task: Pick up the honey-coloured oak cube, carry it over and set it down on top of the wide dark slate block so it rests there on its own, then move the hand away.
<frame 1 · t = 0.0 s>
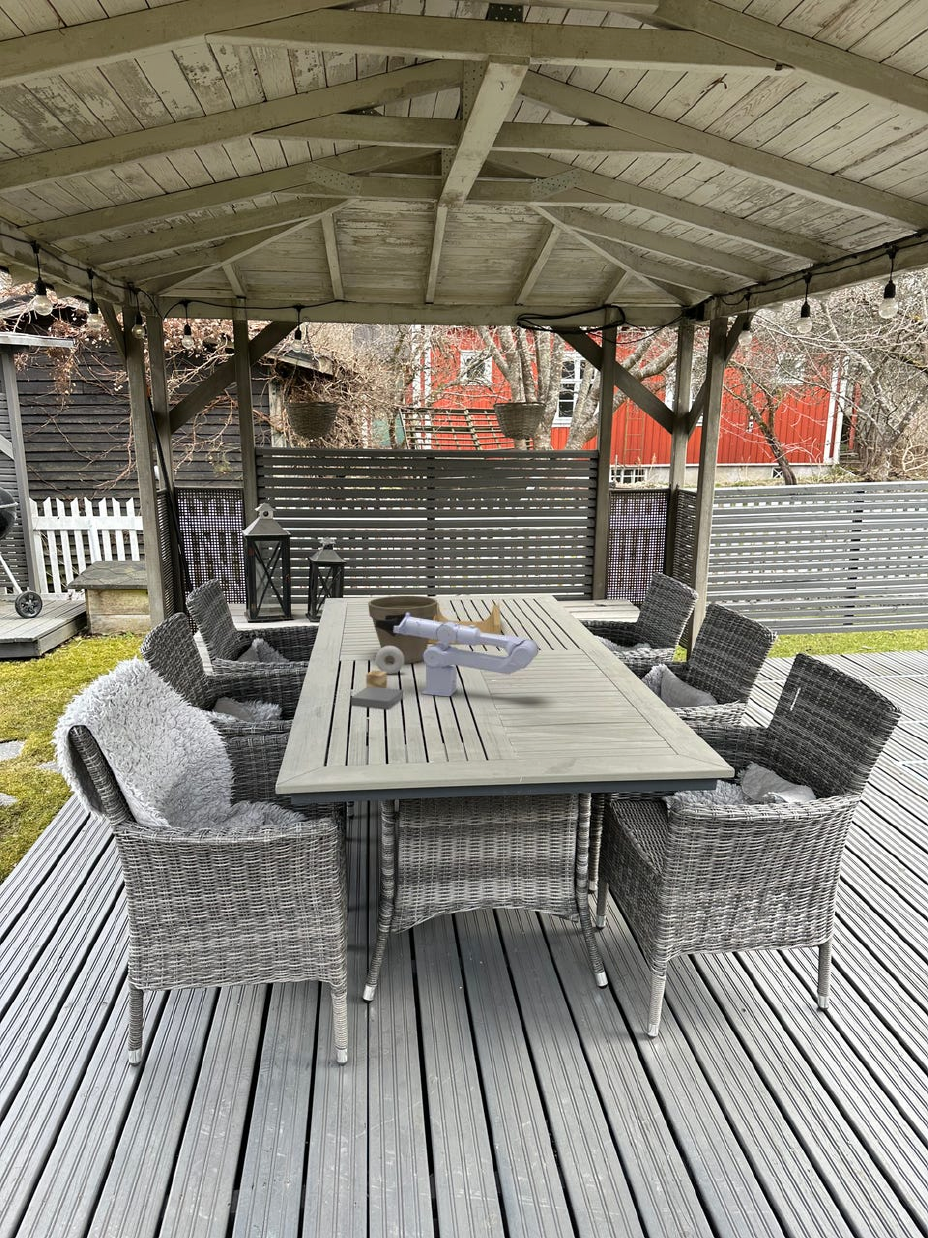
hand: (381, 620, 253), 22 cm above the table, tool horizontal, fingers open, 7 cm apart
donut: (390, 674, 271), on the table
oak cube: (376, 688, 256), on the table
slate block: (377, 703, 242), on the table
plant pot: (403, 659, 291), on the table
skate ramp: (457, 634, 332), on the table
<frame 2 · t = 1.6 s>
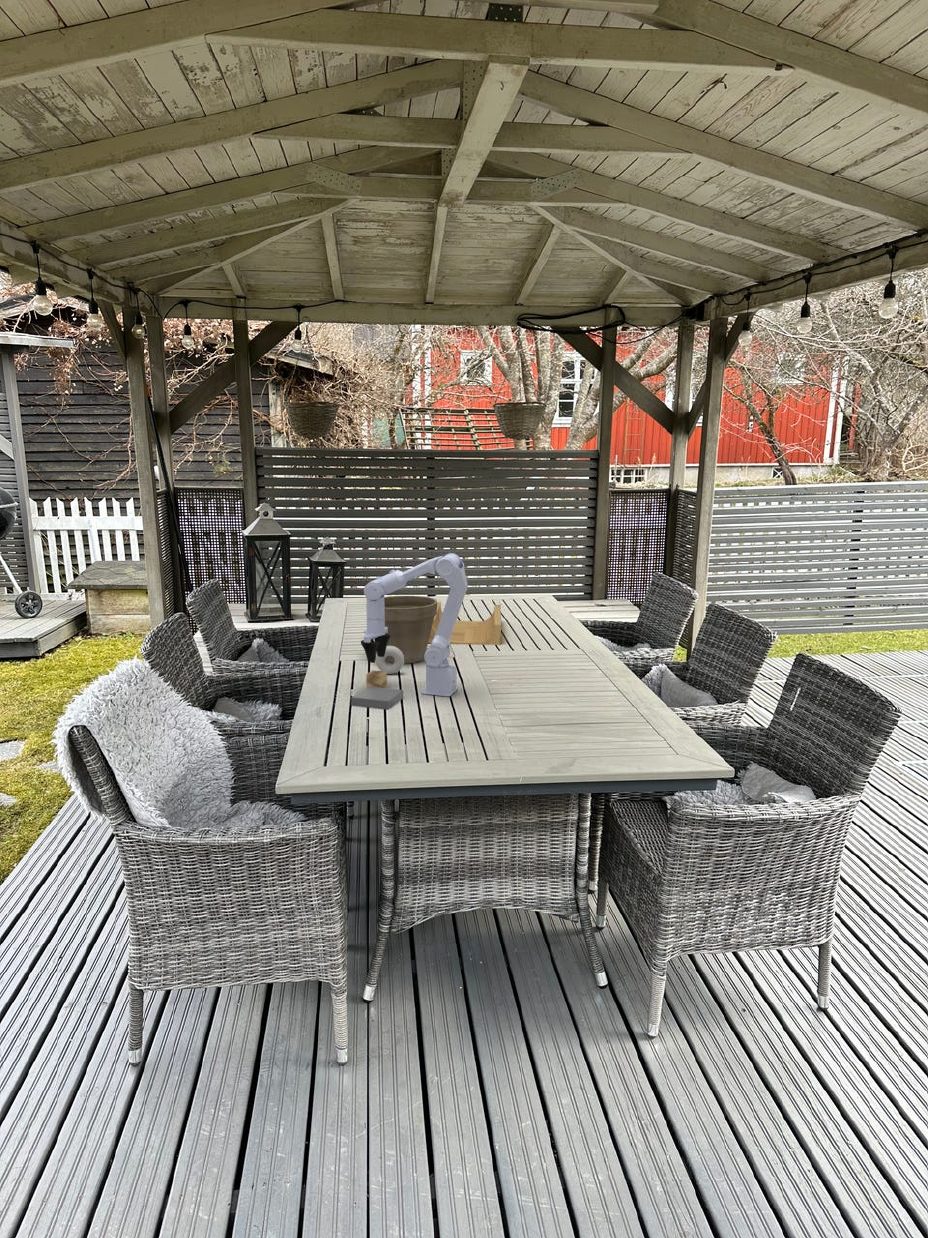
hand: (376, 659, 254), 9 cm above the table, tool pointing down, fingers open, 7 cm apart
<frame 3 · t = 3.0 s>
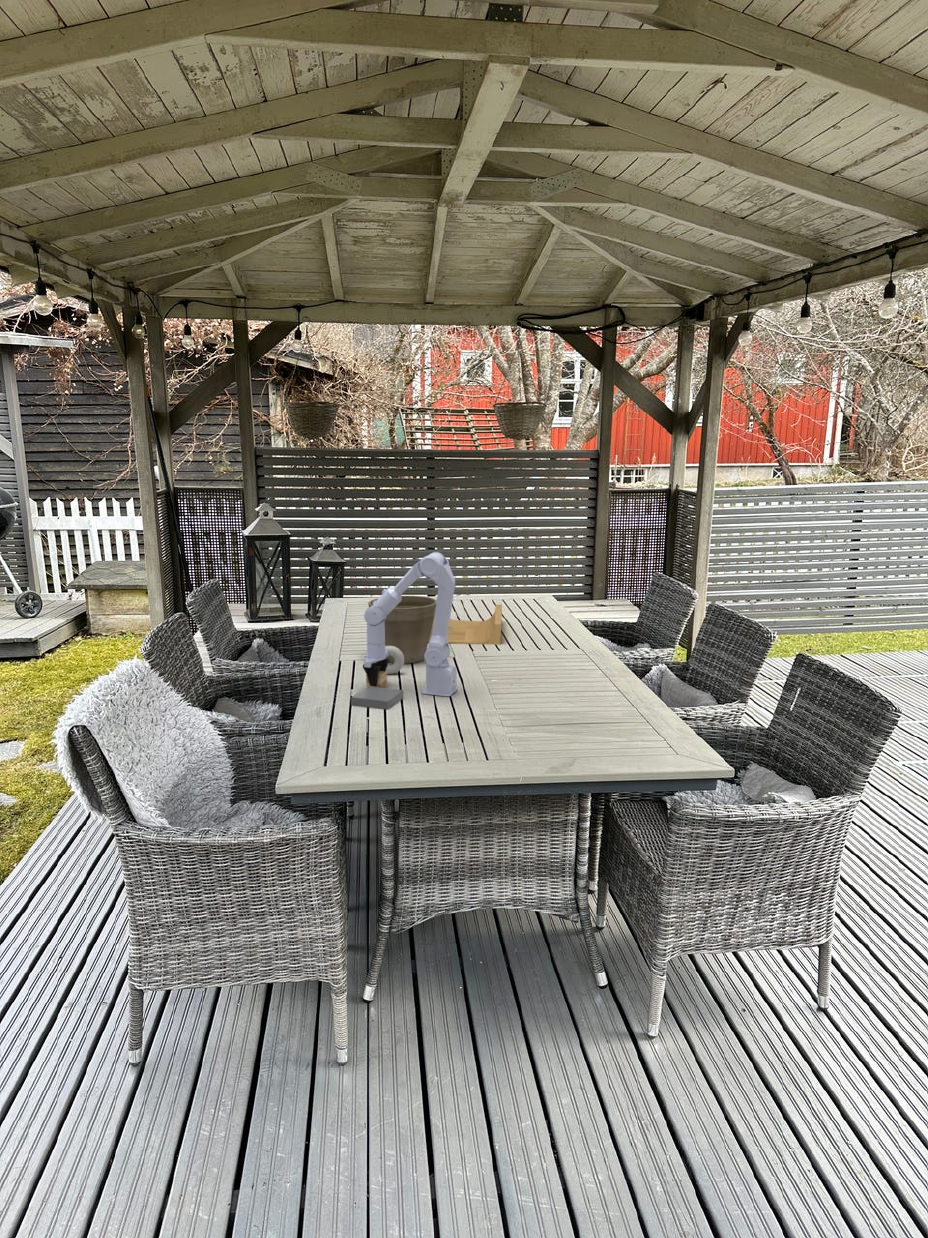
hand: (376, 683, 256), 1 cm above the table, tool pointing down, fingers closed on oak cube, 5 cm apart
oak cube: (376, 687, 256), on the table, touching gripper
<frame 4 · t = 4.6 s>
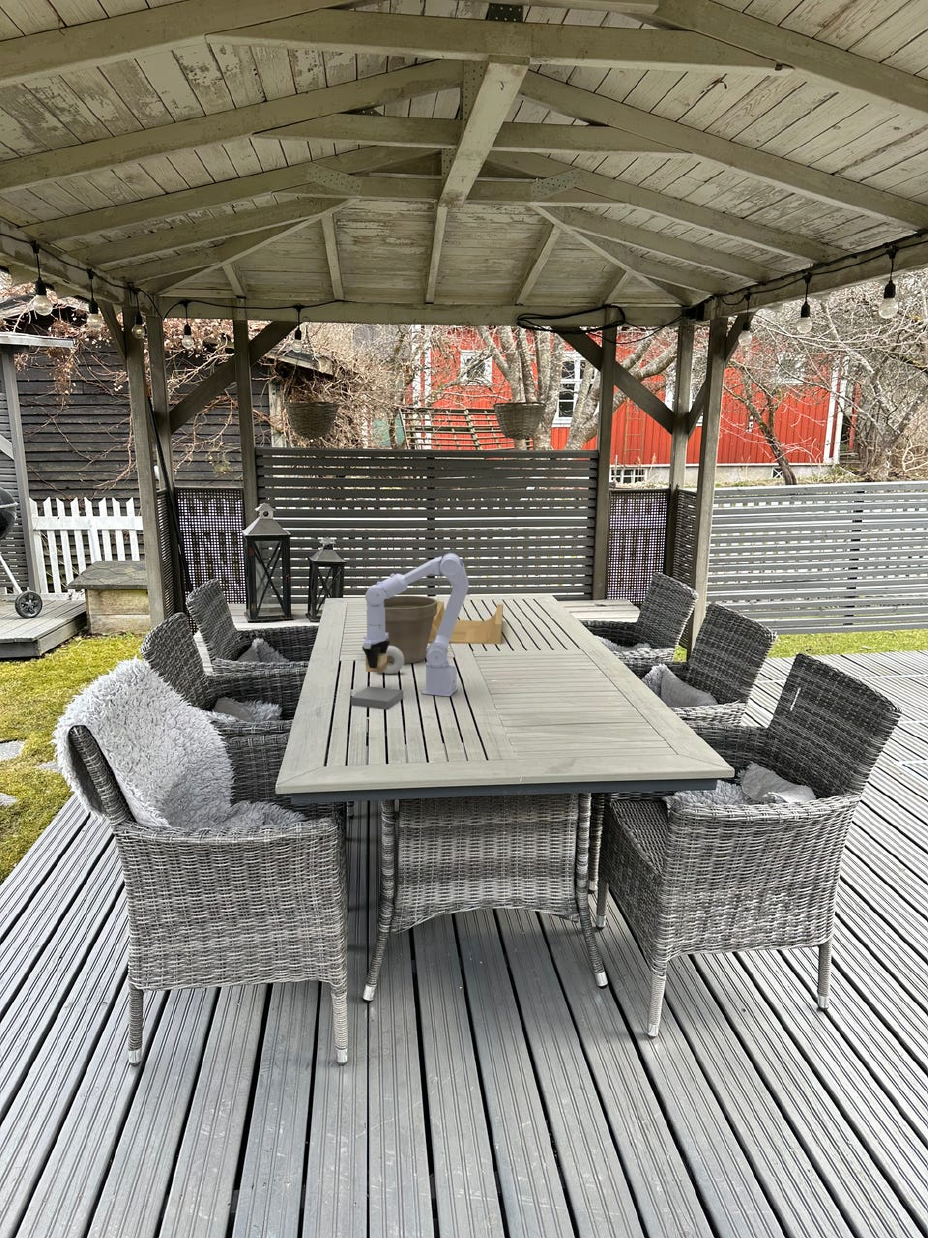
hand: (376, 665, 250), 8 cm above the table, tool pointing down, fingers closed on oak cube, 5 cm apart
oak cube: (376, 670, 251), point 7 cm above the table, touching gripper
when the fingers open (6 cm above the table, at t = 6.2 s): oak cube drops 2 cm, point 2 cm above the table.
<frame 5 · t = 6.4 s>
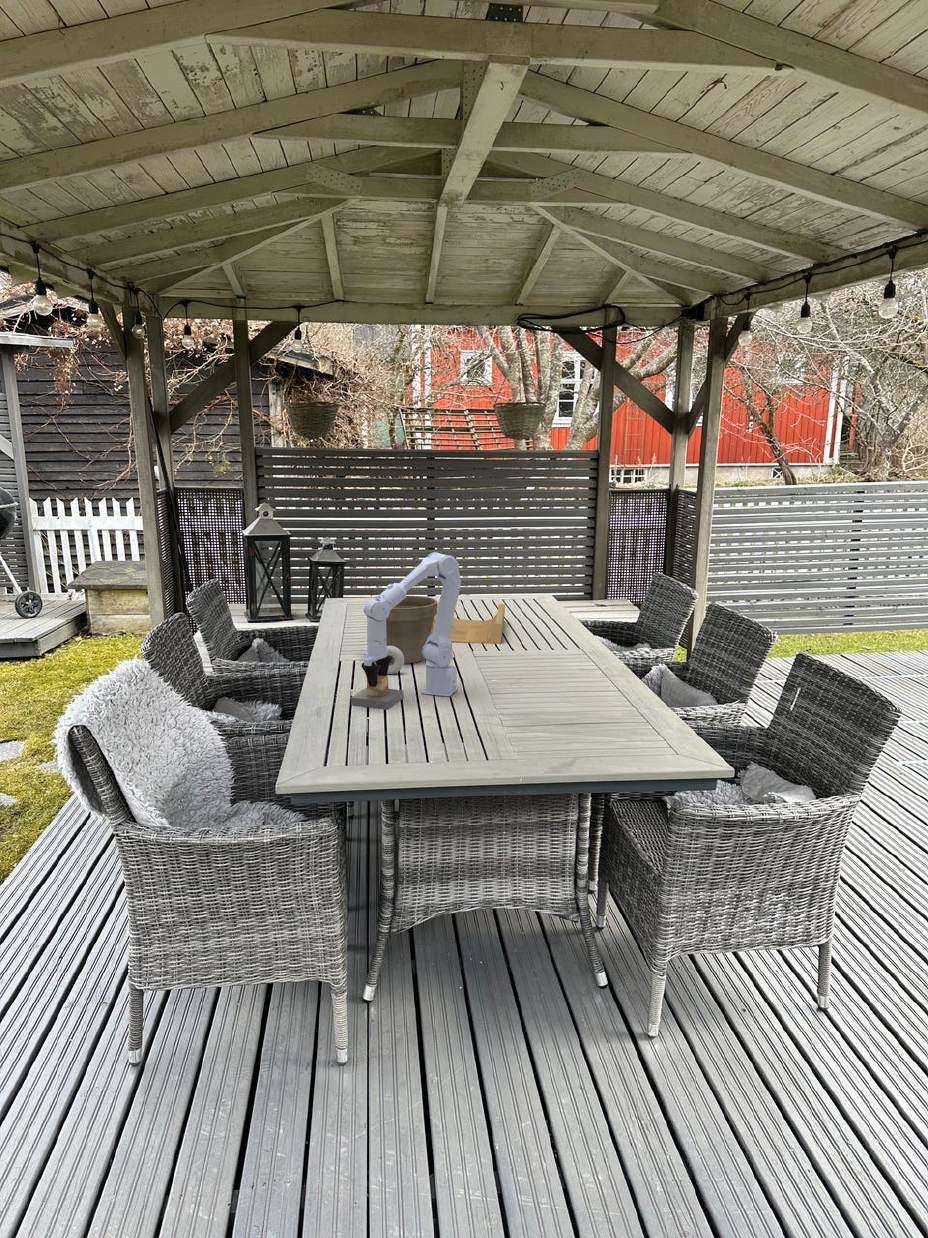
hand: (377, 682, 241), 6 cm above the table, tool pointing down, fingers open, 7 cm apart
oak cube: (377, 693, 241), point 2 cm above the table
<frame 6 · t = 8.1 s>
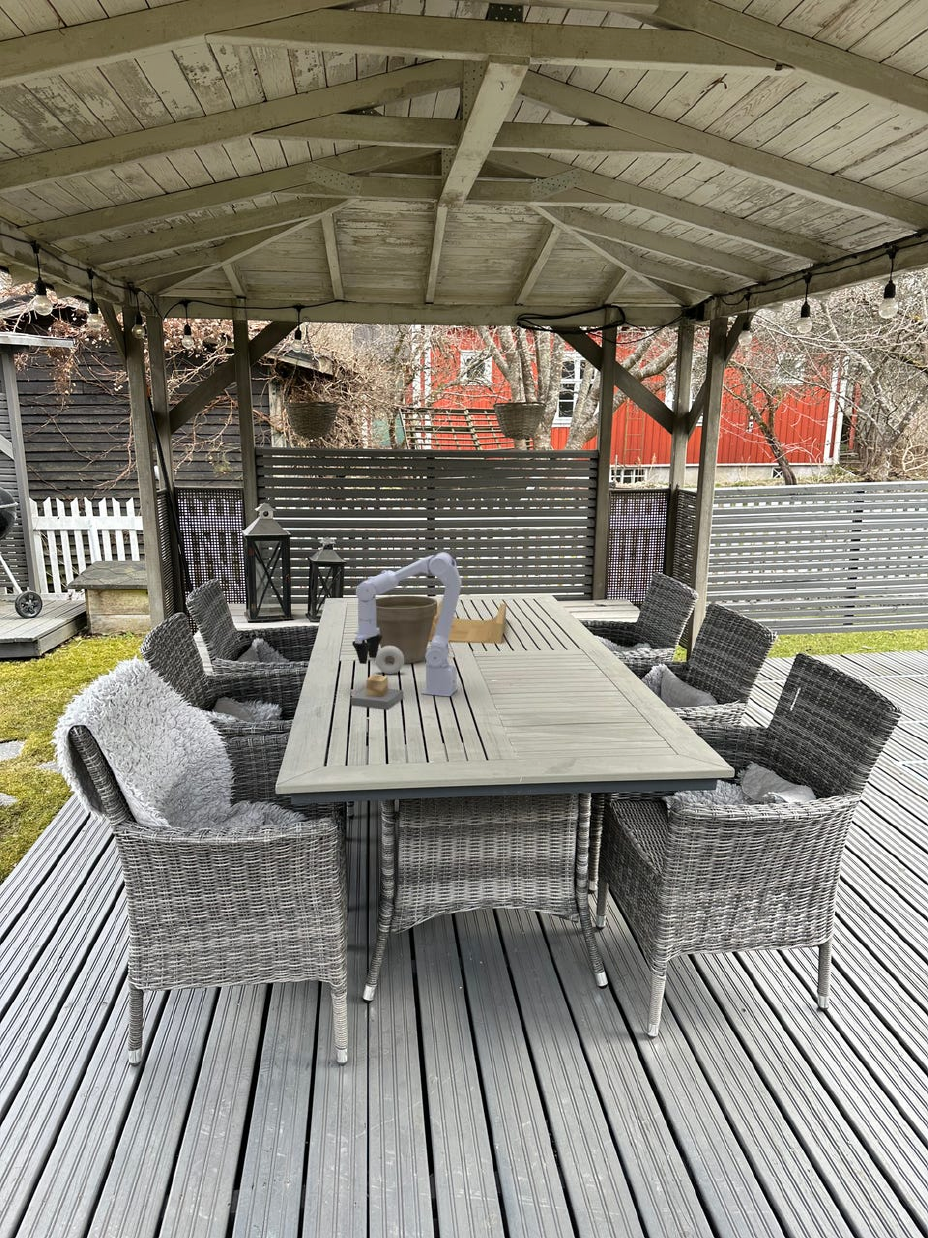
hand: (368, 660, 253), 9 cm above the table, tool pointing down, fingers open, 7 cm apart
oak cube: (377, 693, 241), point 2 cm above the table, touching slate block
slate block: (377, 703, 242), on the table, touching oak cube
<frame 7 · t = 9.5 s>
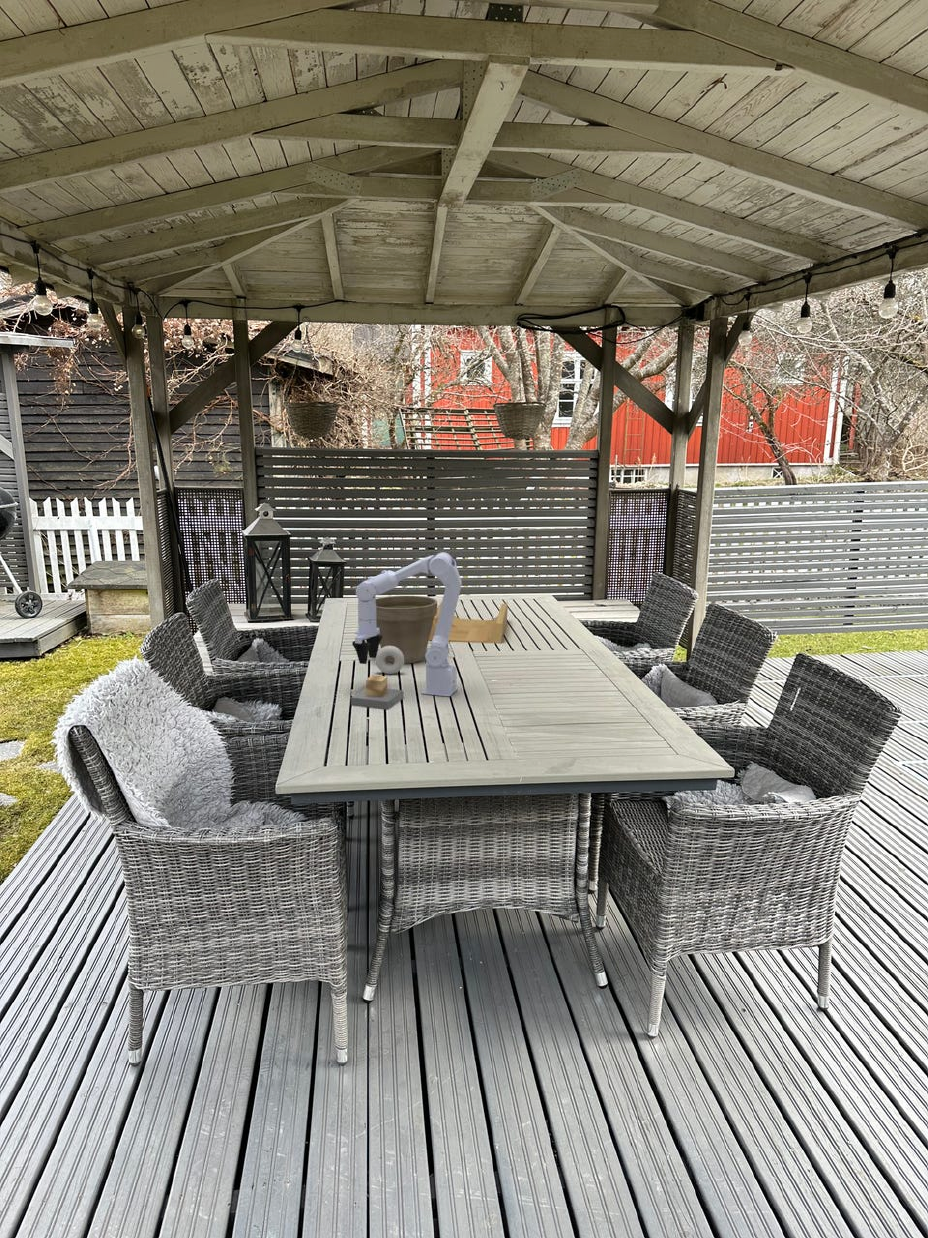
hand: (368, 660, 253), 9 cm above the table, tool pointing down, fingers open, 7 cm apart
oak cube: (376, 694, 241), point 2 cm above the table
slate block: (377, 703, 242), on the table
at the end: oak cube inside the target area on the slate block (0.3 cm from its centre), point 3.0 cm above the slate block's base; oak cube touching nothing; oak cube tilted 0° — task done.
